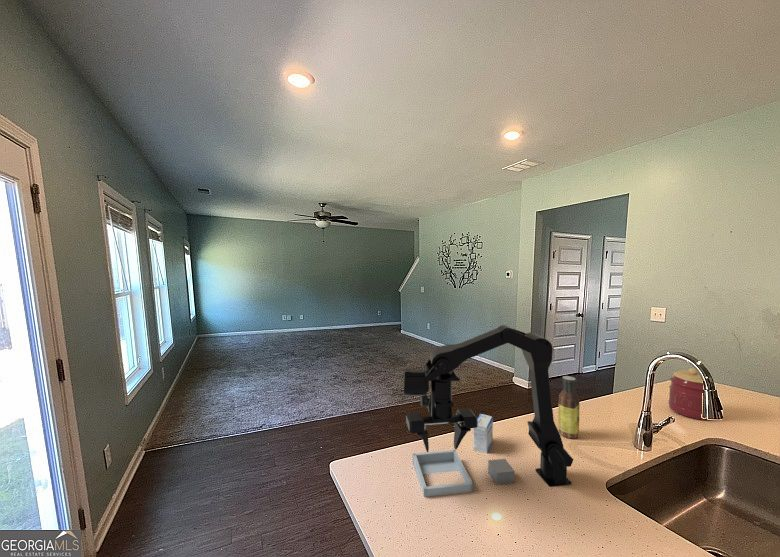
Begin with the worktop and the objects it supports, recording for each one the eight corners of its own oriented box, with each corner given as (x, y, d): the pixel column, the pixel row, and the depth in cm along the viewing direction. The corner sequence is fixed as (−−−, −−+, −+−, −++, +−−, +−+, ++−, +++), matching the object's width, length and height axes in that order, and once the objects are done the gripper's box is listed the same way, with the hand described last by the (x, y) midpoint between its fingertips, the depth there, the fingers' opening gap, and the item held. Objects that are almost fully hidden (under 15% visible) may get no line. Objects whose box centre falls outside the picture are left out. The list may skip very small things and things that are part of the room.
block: (514, 485, 80) (514, 471, 80) (496, 487, 80) (496, 472, 80) (504, 472, 85) (505, 458, 85) (488, 473, 85) (488, 460, 84)
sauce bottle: (582, 440, 101) (584, 382, 99) (561, 438, 102) (563, 381, 101) (574, 429, 107) (576, 375, 106) (555, 427, 108) (556, 374, 107)
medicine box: (487, 454, 94) (487, 427, 94) (472, 450, 97) (473, 423, 96) (492, 441, 101) (493, 416, 100) (479, 437, 103) (479, 412, 103)
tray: (473, 497, 77) (473, 484, 77) (424, 502, 76) (424, 489, 76) (455, 460, 91) (455, 449, 91) (412, 464, 90) (412, 453, 90)
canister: (680, 417, 115) (683, 372, 113) (661, 402, 127) (663, 361, 126) (724, 423, 111) (727, 376, 110) (699, 406, 123) (702, 364, 122)
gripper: (463, 380, 91) (463, 430, 92) (402, 384, 89) (402, 435, 90) (478, 397, 80) (478, 454, 81) (409, 402, 78) (410, 460, 79)
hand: (441, 449), depth 83 cm, fingers open, 8 cm apart
